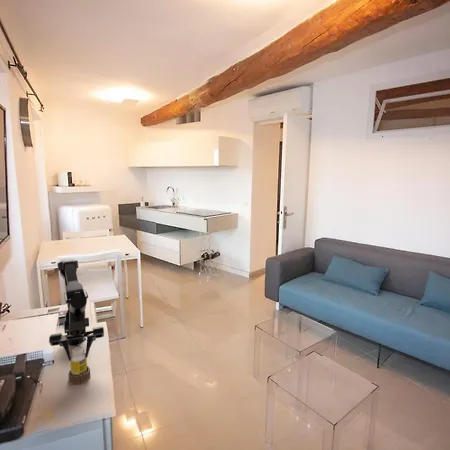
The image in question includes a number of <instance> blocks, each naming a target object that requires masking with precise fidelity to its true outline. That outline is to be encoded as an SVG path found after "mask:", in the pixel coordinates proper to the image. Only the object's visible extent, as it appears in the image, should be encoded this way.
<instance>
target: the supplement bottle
mask: <svg viewBox="0 0 450 450" xmlns="http://www.w3.org/2000/svg"><path fill="white" fill-rule="evenodd" d="M71 351H72V353H71V354H72V355H70V370H71V375H72V376H73V377H79V376H82V375H84V374H86V372H87V366H88V363H87V361H88V360H87V358H86V352H85V347H83V346H75V347H74V348H72V350H71Z"/></svg>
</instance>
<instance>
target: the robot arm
mask: <svg viewBox="0 0 450 450" xmlns="http://www.w3.org/2000/svg"><path fill="white" fill-rule="evenodd" d="M56 266H57V271H59V275H60V276H61V278H63V280H64V288H65V292H64V293H63V296H64V302H65V304H67V306H66V307H67V311H66V313H65V316H64V320H63V329H64V335H63V334H62V332H61V333H54V334H50V335H49V337H48V338H49V339H48V344H49V345H50V346H52V347H54V346H59V347H63V350H65V353H66V356H67V359H68V361H69V362H71V360H70V359H71V352H70V346H74V347H78V346H79V345H80V344H82V343H83V342H84V341H85V340H86V349H85V353H86V359H87V358H88V356H89V352H90V350H91V347H92V345H93V342H95V341H97V339H100V338H104V337H105V332H104V331H105V329H104V327H103V326H97V327H93V328H92V330H88V331H87V329H86V328H87V327H90V319H89V317H86V308H87V303H88V302H87V301H88V299H89V295H88V293H87V291H86V290H85V289H84V287H83V284H82V283H80V282H79V280H78V274H77V271H78V269H79V261H78V260H76V259H75V258H71V259H64V260H63V259H62V260H60V261H59V262H57V263H56Z"/></svg>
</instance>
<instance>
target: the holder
mask: <svg viewBox="0 0 450 450" xmlns="http://www.w3.org/2000/svg"><path fill="white" fill-rule="evenodd" d="M67 375H68V376H67V377H68V382H69V384H70V385H72V386H78V385H82V384H85V383H87V382H88V381H89V380H90V378H91V368H90V366H88V365H87V372H86V373H85V374H84V375H82V376H79V377H73V376H72V375H71V369H70V370H69V371H68V374H67Z"/></svg>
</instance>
